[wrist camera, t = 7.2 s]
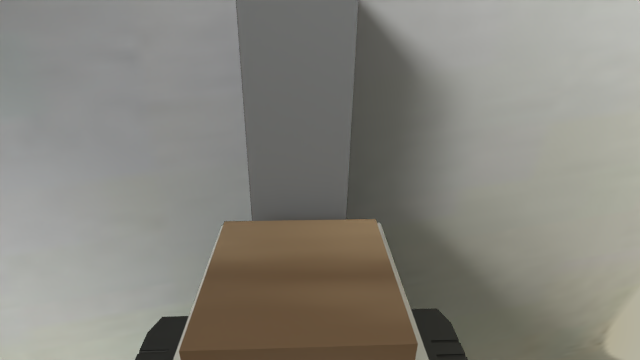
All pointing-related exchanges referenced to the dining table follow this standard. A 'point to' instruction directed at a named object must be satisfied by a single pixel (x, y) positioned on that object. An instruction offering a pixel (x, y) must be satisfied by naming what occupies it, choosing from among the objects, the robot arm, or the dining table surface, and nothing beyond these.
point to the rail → (298, 105)
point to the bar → (299, 295)
